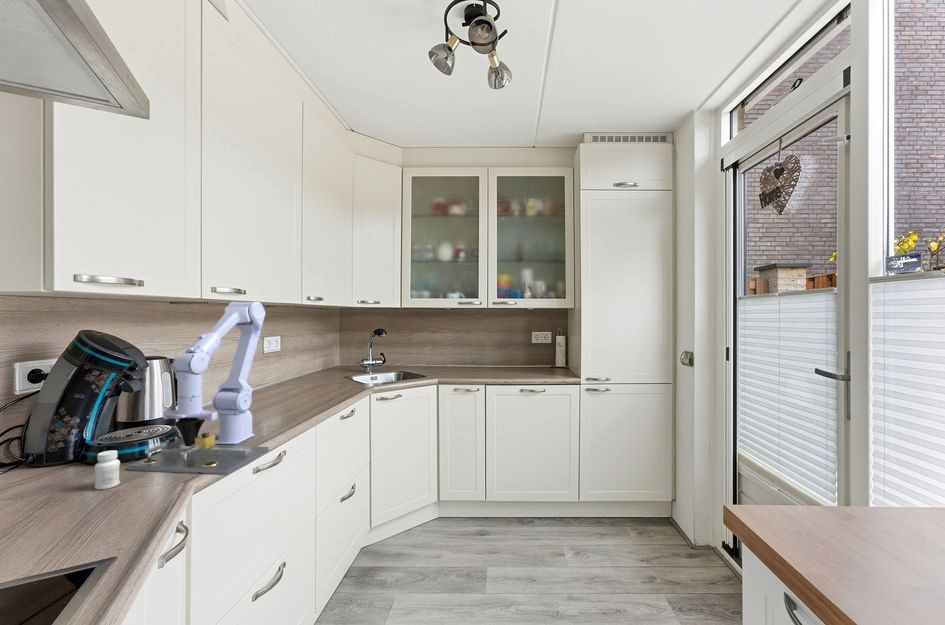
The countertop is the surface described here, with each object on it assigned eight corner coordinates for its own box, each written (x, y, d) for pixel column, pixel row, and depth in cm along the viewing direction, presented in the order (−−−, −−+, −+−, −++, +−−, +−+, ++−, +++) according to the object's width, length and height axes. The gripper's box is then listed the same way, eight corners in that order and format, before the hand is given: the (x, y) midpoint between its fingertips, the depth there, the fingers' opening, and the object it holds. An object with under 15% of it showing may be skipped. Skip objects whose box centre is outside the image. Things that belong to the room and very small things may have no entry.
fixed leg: (172, 448, 116) (172, 436, 116) (180, 448, 115) (180, 436, 115) (142, 460, 106) (142, 447, 106) (151, 460, 106) (151, 447, 106)
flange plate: (182, 448, 121) (182, 443, 121) (268, 451, 118) (268, 446, 118) (128, 470, 104) (128, 464, 104) (227, 474, 101) (227, 468, 101)
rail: (166, 451, 115) (166, 445, 115) (250, 454, 112) (250, 448, 112) (160, 453, 113) (160, 447, 113) (245, 456, 111) (245, 450, 111)
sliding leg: (205, 449, 115) (205, 431, 115) (215, 449, 114) (215, 431, 114) (177, 462, 105) (177, 442, 105) (187, 462, 105) (187, 442, 105)
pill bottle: (125, 482, 97) (125, 449, 97) (106, 490, 92) (106, 456, 92) (108, 481, 97) (108, 449, 97) (89, 489, 93) (89, 455, 93)
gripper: (153, 398, 110) (153, 449, 110) (203, 399, 109) (203, 450, 109) (175, 393, 117) (175, 440, 117) (222, 394, 116) (222, 442, 116)
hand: (190, 445), depth 113 cm, fingers closed
